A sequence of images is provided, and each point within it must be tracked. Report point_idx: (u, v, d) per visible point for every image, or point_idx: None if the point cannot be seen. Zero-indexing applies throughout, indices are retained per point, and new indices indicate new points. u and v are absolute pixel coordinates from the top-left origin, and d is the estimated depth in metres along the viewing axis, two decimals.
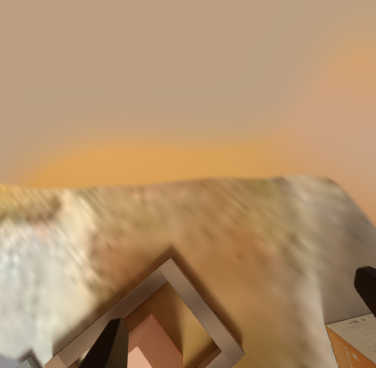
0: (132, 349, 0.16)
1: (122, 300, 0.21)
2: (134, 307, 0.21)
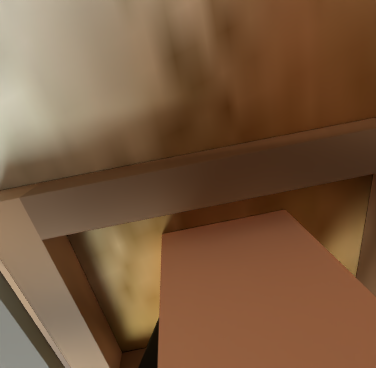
0: None
1: (272, 152, 0.06)
2: (290, 186, 0.07)
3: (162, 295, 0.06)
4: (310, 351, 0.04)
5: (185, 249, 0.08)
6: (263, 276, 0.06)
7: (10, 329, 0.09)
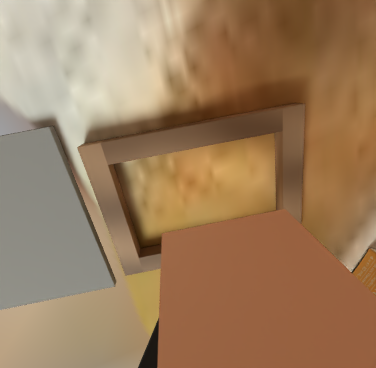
0: None
1: (214, 122, 0.14)
2: (225, 140, 0.15)
3: (162, 294, 0.06)
4: (309, 349, 0.04)
5: (185, 248, 0.08)
6: (263, 275, 0.06)
7: (82, 222, 0.17)
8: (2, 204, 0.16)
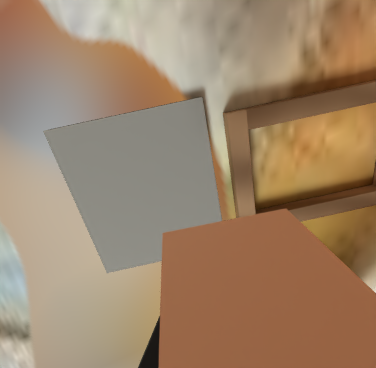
0: None
1: (344, 90, 0.16)
2: (349, 105, 0.17)
3: (163, 293, 0.06)
4: (312, 349, 0.04)
5: (186, 248, 0.08)
6: (264, 274, 0.06)
7: (211, 185, 0.19)
8: (149, 168, 0.18)
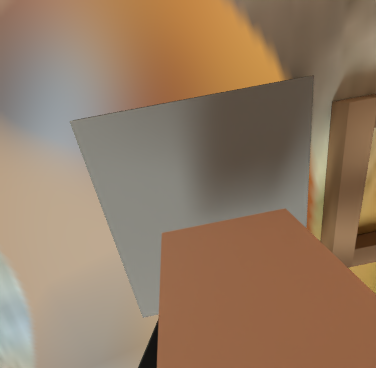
0: None
1: None
2: None
3: (161, 294, 0.06)
4: (311, 349, 0.04)
5: (185, 248, 0.08)
6: (264, 274, 0.06)
7: (301, 204, 0.13)
8: (219, 180, 0.12)
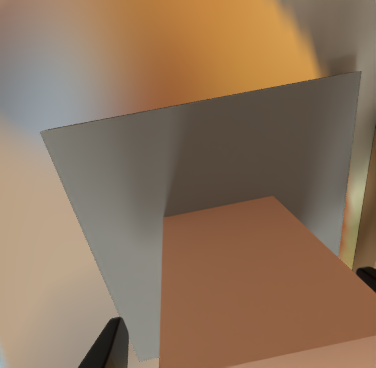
0: None
1: None
2: None
3: (163, 263, 0.07)
4: (282, 297, 0.05)
5: (183, 229, 0.09)
6: (249, 247, 0.07)
7: (333, 232, 0.11)
8: None
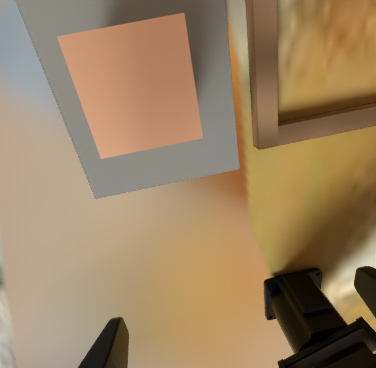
0: None
1: None
2: None
3: None
4: None
5: None
6: None
7: (226, 79, 0.15)
8: None
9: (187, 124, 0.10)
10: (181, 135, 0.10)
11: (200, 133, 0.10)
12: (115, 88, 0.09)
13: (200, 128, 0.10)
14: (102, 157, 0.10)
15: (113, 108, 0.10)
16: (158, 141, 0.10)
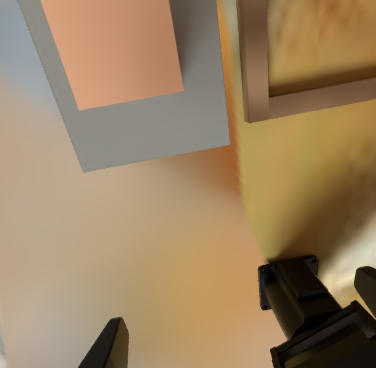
0: None
1: None
2: None
3: None
4: None
5: None
6: None
7: (214, 48, 0.15)
8: None
9: (167, 75, 0.10)
10: (161, 86, 0.10)
11: (181, 85, 0.10)
12: (92, 32, 0.09)
13: (180, 79, 0.10)
14: (80, 108, 0.10)
15: (90, 54, 0.09)
16: (137, 92, 0.10)
